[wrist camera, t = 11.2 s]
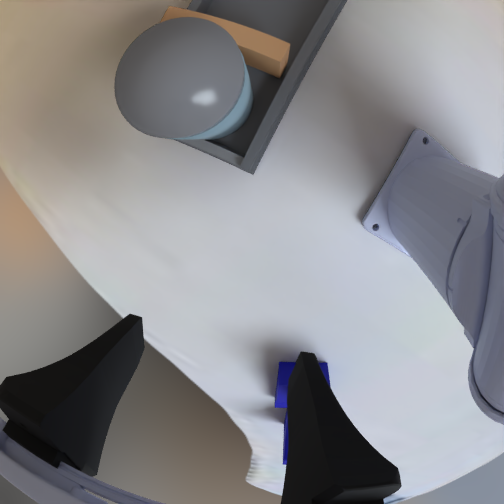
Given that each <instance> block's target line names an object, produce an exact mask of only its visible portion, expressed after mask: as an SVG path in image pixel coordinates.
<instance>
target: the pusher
mask: <svg viewBox="0 0 504 504" xmlns="http://www.w3.org/2000/svg"><path fill="white" fill-rule="evenodd" d="M180 17H196V18H202V19H206V20H209V21H211V22H214V23H216V24H218V25H219V26H221V27H222V28H224V29H225V30H226V31H227V32H228V33H229V34H230V35H231V36H232V37H233V39H234V40H235V41H236V43H237V45H238V47H239V49H240V51H241V53H242V55H243V57H244V61H245V64H246V65H249V66H251V67H254V68H256V69H259V70H261V71H263V72H266V73H268V74H270V75H273V76H275V77H277V78H279V79H280V77H281V76H282V74H283V72H284V70H285V68H286V66H287V63H288V56H289V50H290V43H287V42H285V41H283V40H280V39H278V38H276V37H273V36H271V35H268V34H265V33H263V32H260V31H258V30H255V29H252V28H249V27H246V26H243V25H240V24H237V23H234V22H231V21H228V20H225V19H221V18H218V17H214V16H211V15H207V14H203V13H199V12H195V11H191V10H186V9H182V8H177V7H172V6H169V7H168V9H167V11H166V12H165V14H164V16H163V18H162V19H161V21H160V23H161V22H163V21H166V20H170V19H174V18H180Z"/></svg>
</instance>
